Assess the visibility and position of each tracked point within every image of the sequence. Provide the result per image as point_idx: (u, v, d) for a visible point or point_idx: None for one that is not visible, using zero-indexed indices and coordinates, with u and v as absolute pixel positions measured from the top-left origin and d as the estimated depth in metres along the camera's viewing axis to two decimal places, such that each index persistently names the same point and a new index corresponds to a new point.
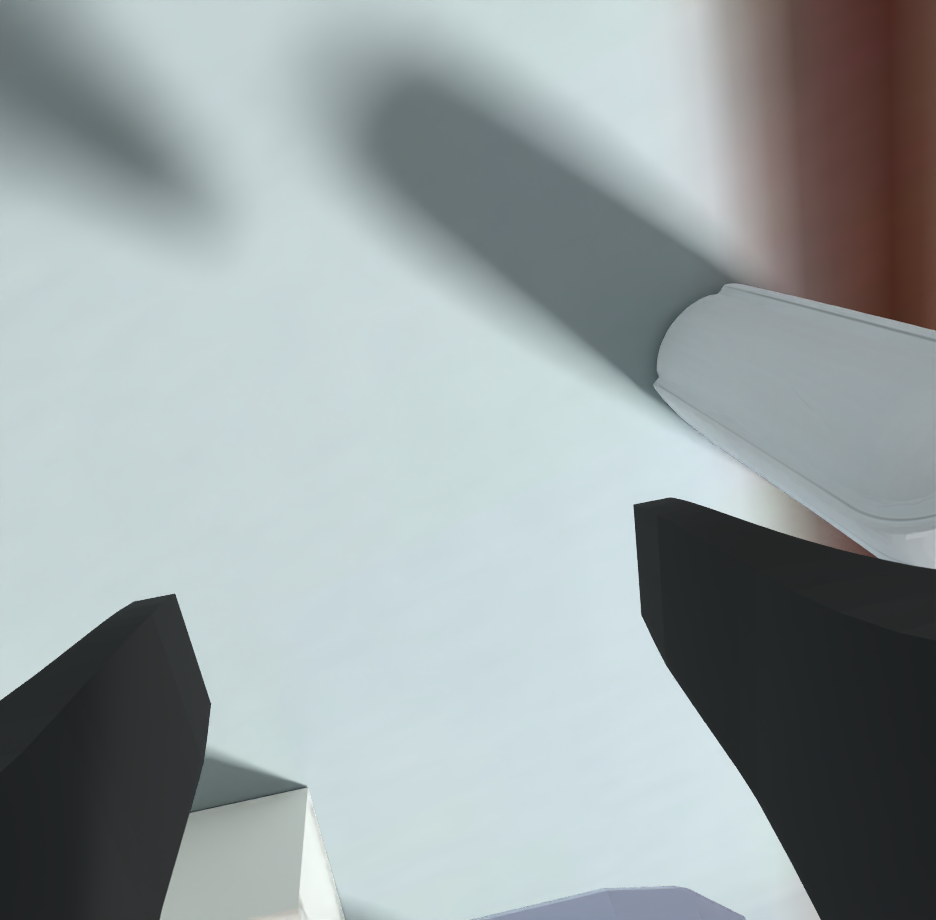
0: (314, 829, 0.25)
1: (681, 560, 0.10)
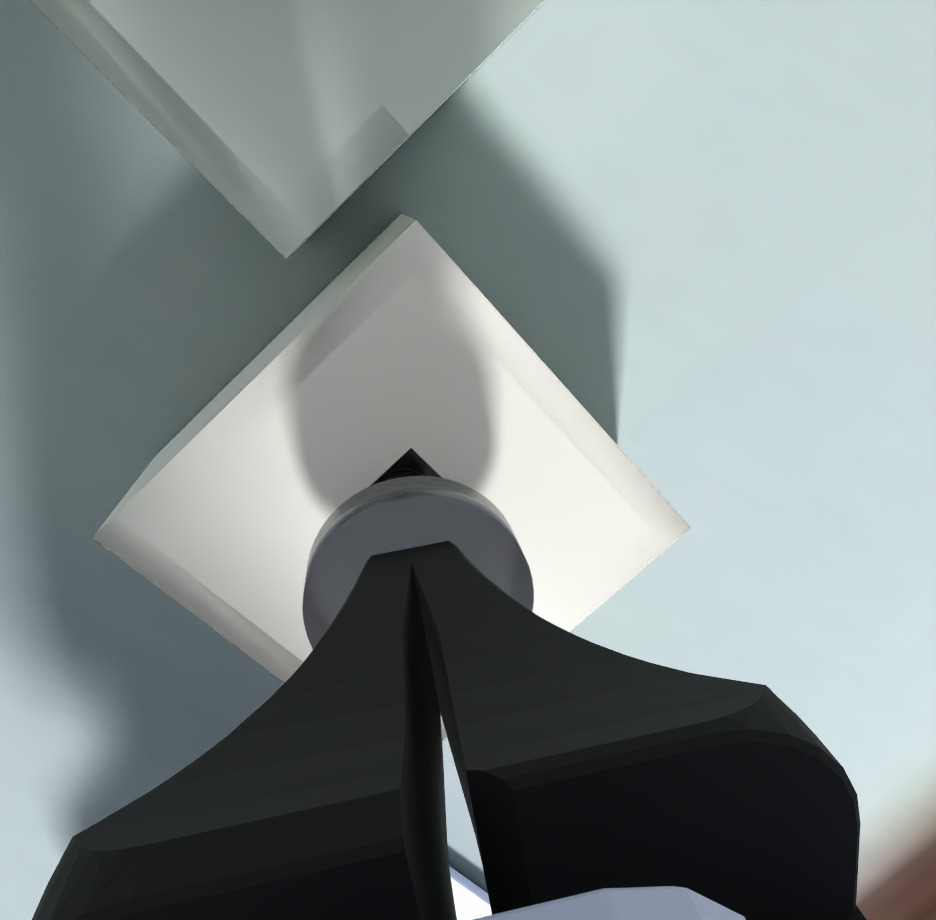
0: None
1: (424, 612, 0.10)
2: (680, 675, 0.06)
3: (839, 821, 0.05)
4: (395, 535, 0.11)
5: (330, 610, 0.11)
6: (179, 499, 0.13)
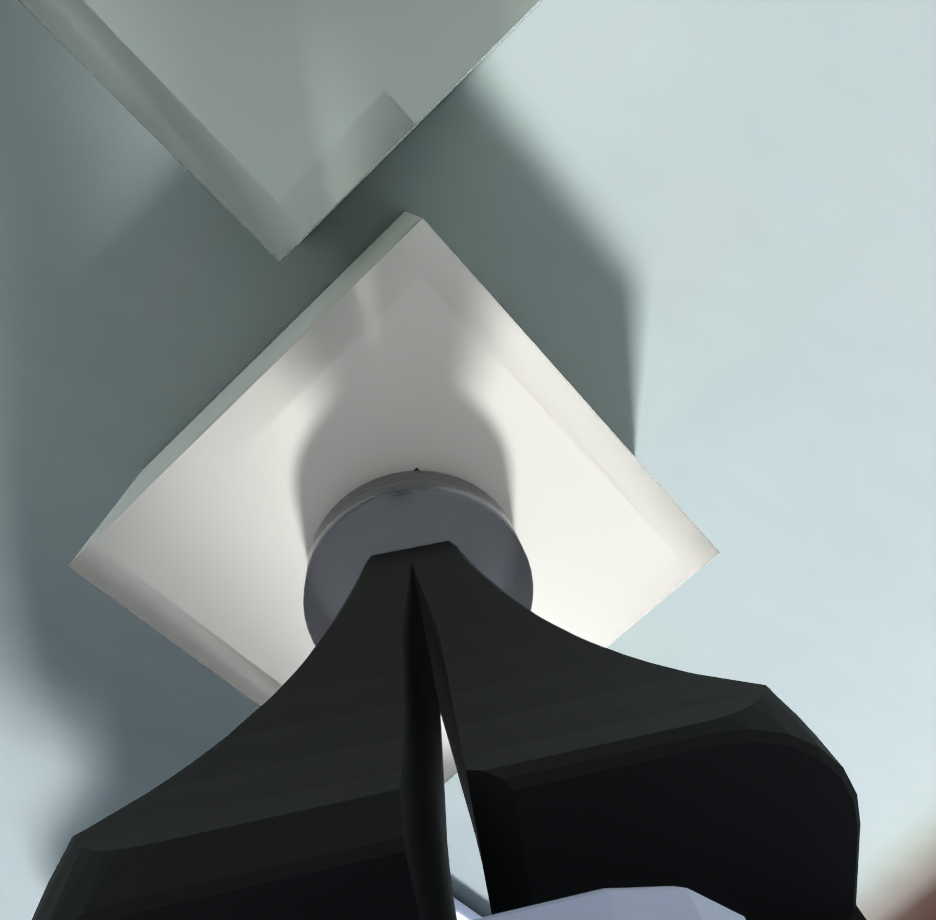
0: None
1: (424, 612, 0.10)
2: (681, 675, 0.06)
3: (839, 823, 0.05)
4: (395, 529, 0.11)
5: (331, 604, 0.11)
6: (163, 524, 0.12)
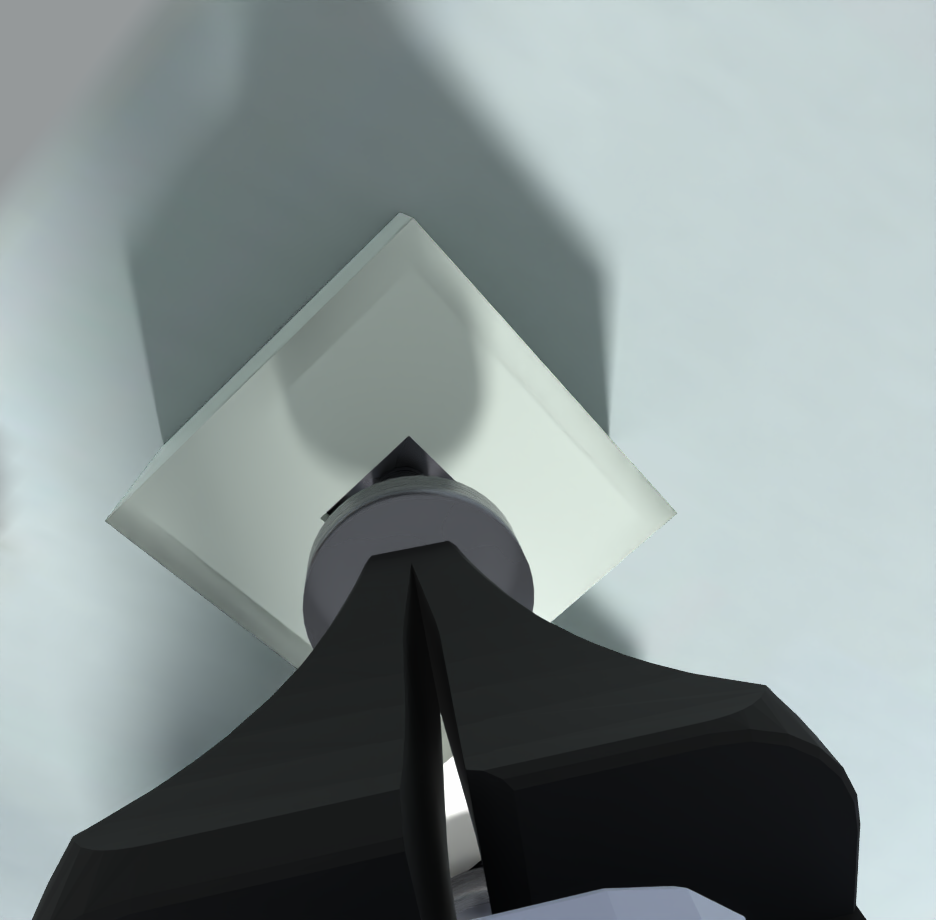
0: None
1: (424, 612, 0.10)
2: (681, 675, 0.06)
3: (839, 823, 0.05)
4: None
5: None
6: None
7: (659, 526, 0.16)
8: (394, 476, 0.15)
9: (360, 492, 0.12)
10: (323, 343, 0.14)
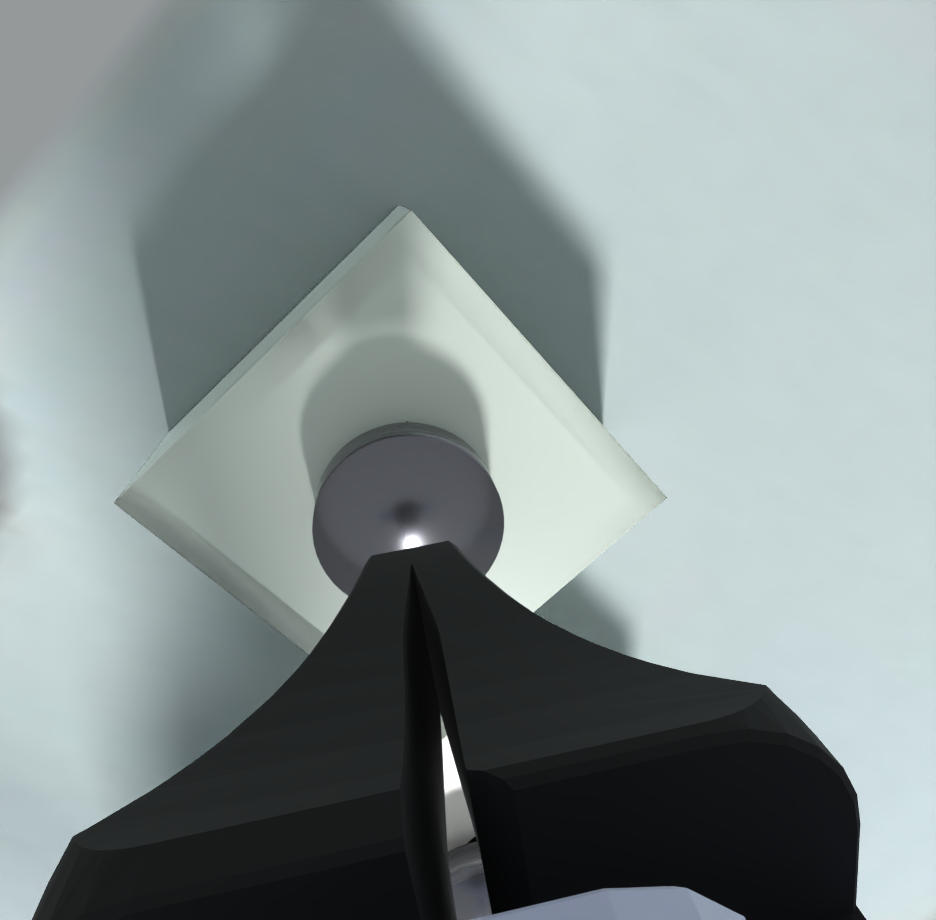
0: None
1: (424, 612, 0.10)
2: (681, 675, 0.06)
3: (838, 820, 0.05)
4: (475, 895, 0.17)
5: None
6: None
7: (650, 509, 0.16)
8: None
9: (360, 436, 0.14)
10: (324, 331, 0.14)
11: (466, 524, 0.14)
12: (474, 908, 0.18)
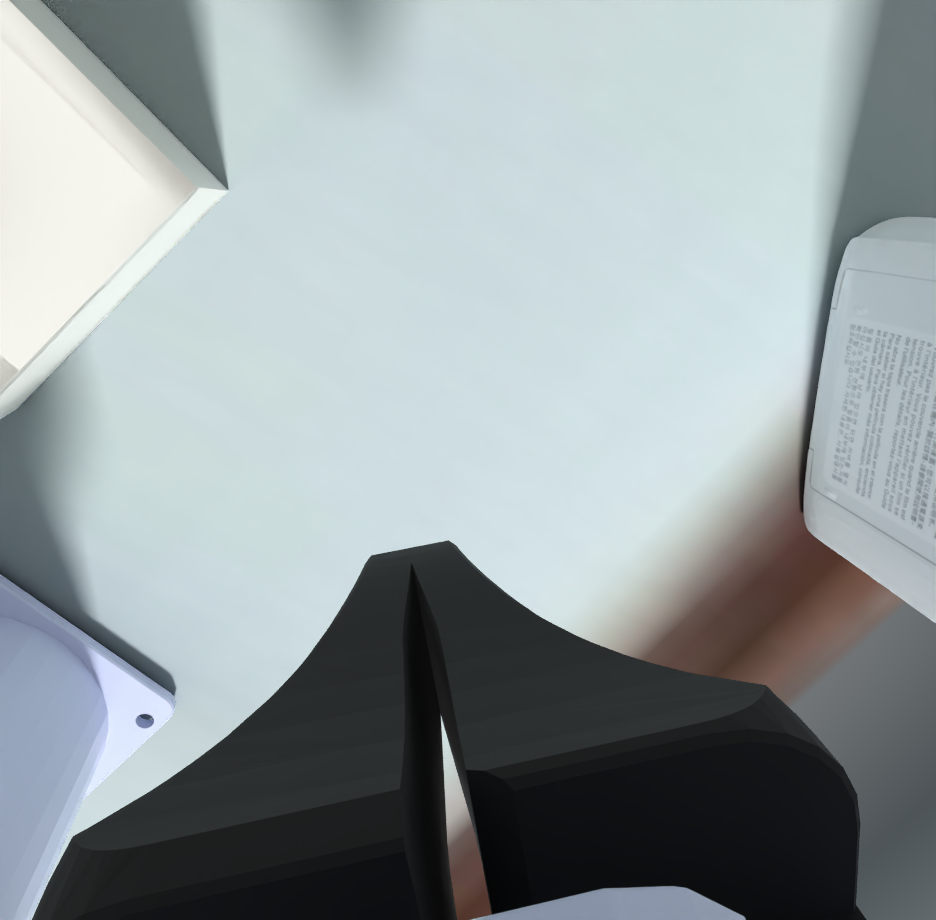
0: (191, 225, 0.18)
1: (424, 612, 0.10)
2: (681, 675, 0.06)
3: (839, 821, 0.05)
4: None
5: None
6: None
7: None
8: None
9: None
10: None
11: None
12: None
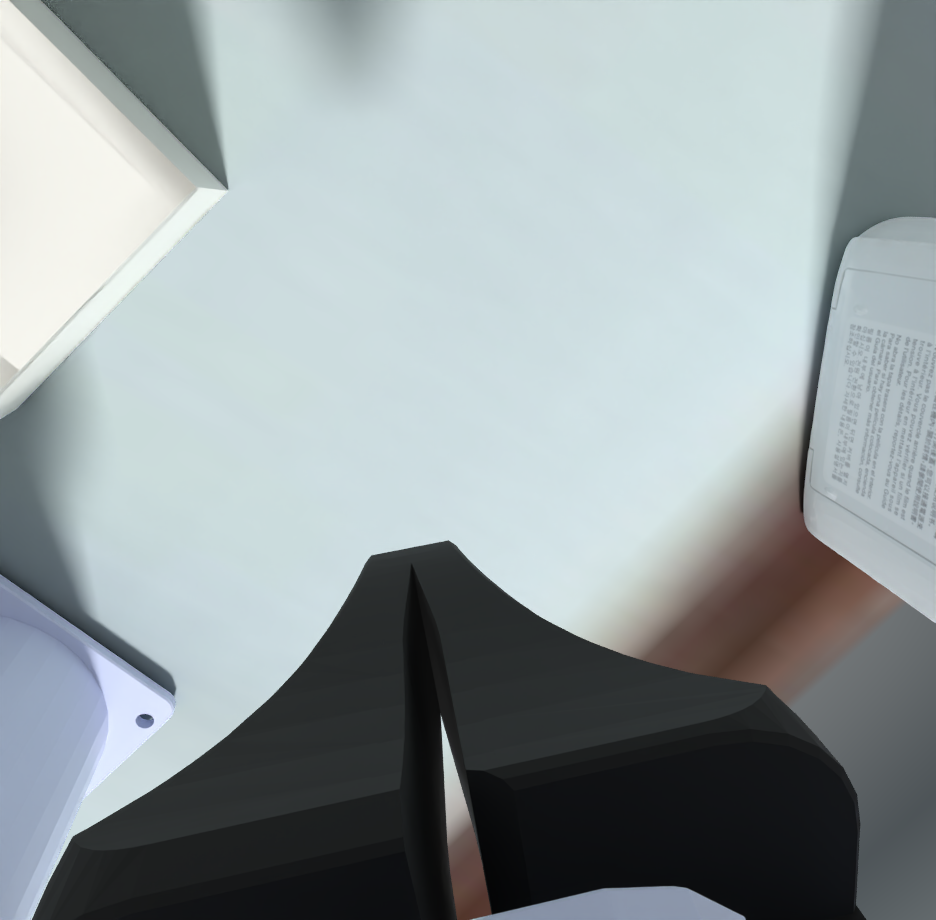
0: (191, 225, 0.18)
1: (424, 612, 0.10)
2: (681, 675, 0.06)
3: (839, 821, 0.05)
4: None
5: None
6: None
7: None
8: None
9: None
10: None
11: None
12: None
